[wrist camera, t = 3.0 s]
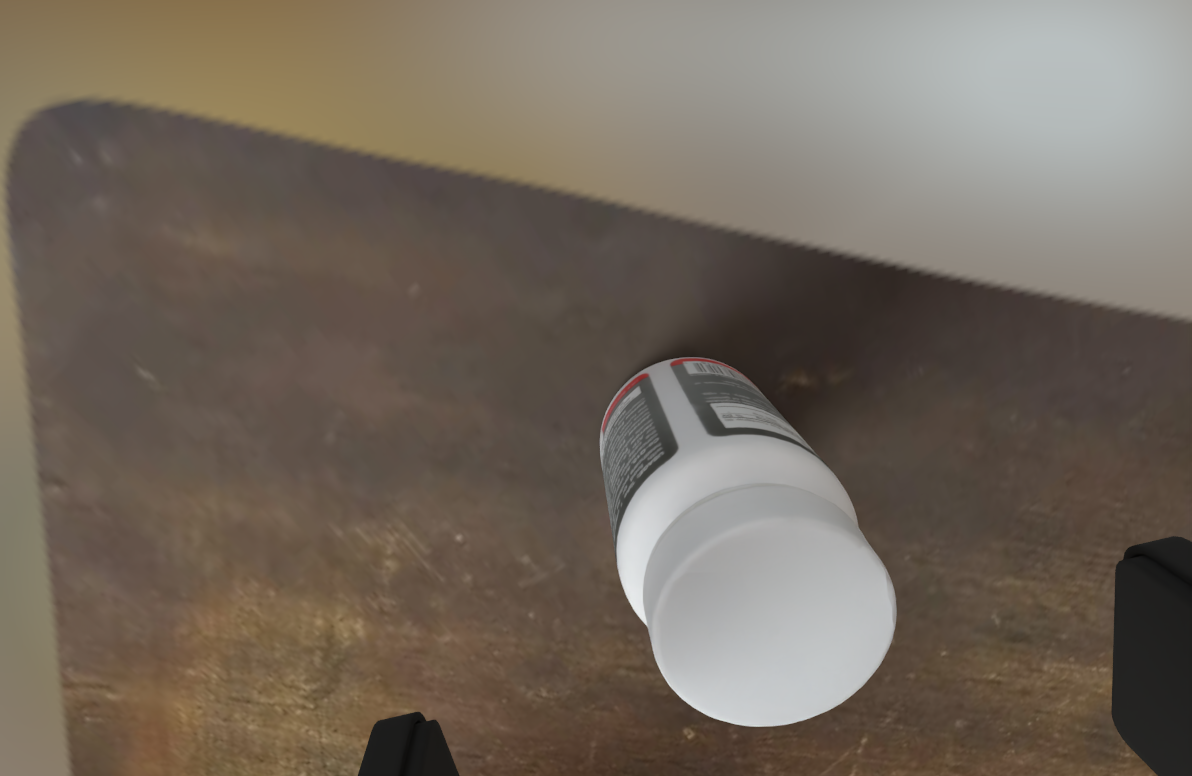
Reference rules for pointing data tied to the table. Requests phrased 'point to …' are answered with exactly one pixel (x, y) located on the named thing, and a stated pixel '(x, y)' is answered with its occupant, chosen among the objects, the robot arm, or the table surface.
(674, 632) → the pill bottle
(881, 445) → the table surface
